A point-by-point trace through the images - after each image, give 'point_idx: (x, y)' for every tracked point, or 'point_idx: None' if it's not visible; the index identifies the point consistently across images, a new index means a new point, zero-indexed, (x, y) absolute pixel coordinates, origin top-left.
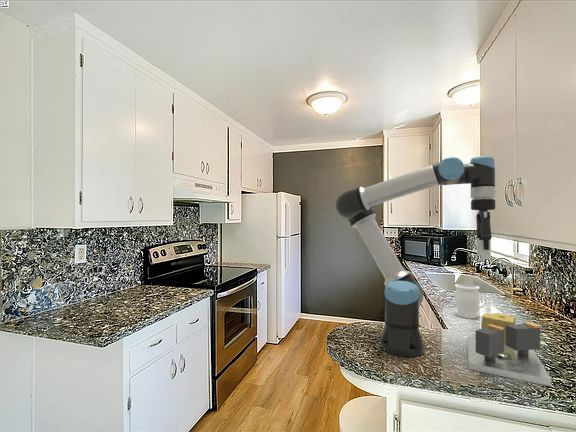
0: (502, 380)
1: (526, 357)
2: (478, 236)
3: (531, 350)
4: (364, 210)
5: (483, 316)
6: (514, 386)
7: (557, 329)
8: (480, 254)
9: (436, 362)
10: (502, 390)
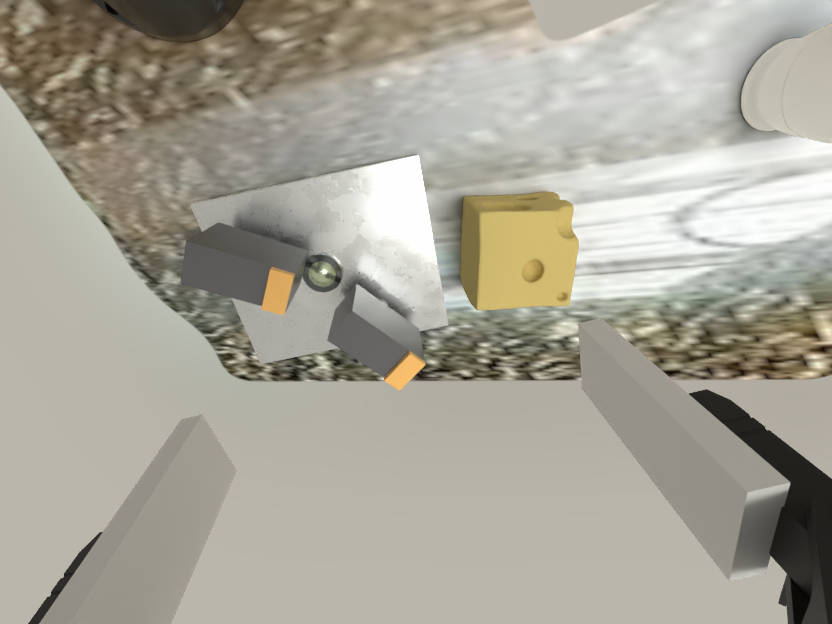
0: None
1: None
2: (808, 548)
3: (430, 323)
4: None
5: (484, 217)
6: (196, 301)
7: (717, 354)
8: (587, 356)
9: (157, 106)
10: (149, 283)
